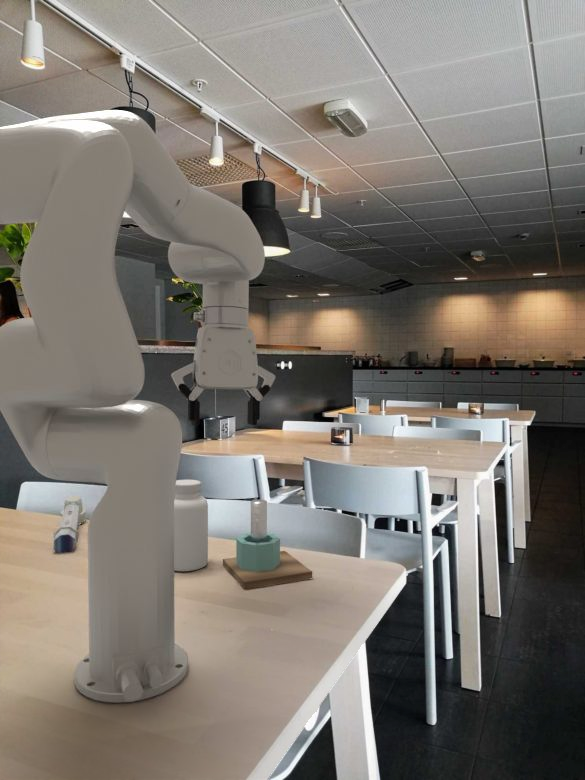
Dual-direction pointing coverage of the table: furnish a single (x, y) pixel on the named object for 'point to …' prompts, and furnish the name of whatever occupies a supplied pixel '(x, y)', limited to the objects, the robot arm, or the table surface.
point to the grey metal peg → (258, 521)
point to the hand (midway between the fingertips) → (224, 424)
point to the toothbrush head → (69, 525)
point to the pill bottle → (190, 526)
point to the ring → (257, 553)
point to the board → (269, 572)
